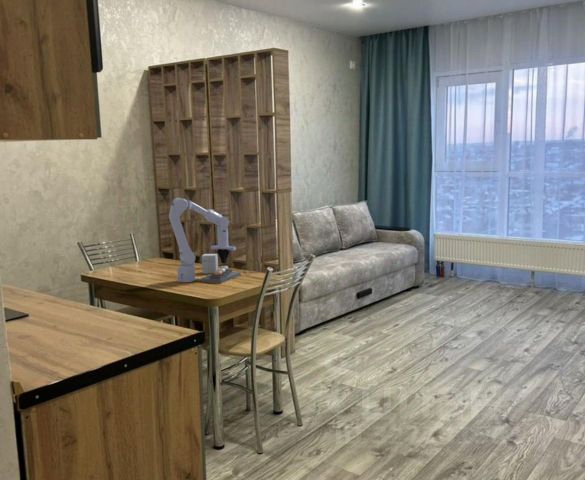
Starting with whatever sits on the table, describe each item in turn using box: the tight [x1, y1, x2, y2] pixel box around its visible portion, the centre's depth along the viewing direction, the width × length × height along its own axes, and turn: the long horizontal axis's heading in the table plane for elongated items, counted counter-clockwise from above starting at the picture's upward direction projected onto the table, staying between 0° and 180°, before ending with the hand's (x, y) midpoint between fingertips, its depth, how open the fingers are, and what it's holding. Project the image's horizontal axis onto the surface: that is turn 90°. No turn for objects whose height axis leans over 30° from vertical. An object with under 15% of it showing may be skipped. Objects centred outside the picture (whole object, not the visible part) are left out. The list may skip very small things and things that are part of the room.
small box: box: [201, 253, 219, 275], centre depth 324 cm, size 8×6×10 cm
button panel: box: [200, 268, 242, 284], centre depth 307 cm, size 21×12×3 cm, turn 156°
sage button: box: [219, 265, 229, 271], centre depth 313 cm, size 4×4×2 cm
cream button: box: [217, 267, 225, 273], centre depth 306 cm, size 4×4×2 cm
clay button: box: [214, 271, 222, 276], centre depth 300 cm, size 4×4×2 cm
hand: (223, 262), depth 313 cm, fingers closed
